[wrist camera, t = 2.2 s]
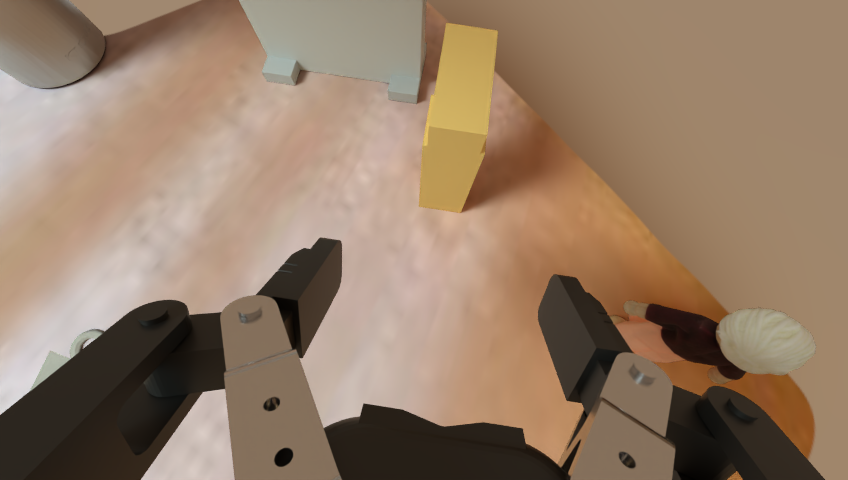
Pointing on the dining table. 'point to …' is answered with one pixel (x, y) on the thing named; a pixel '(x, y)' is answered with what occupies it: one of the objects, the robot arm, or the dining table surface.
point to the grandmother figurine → (718, 339)
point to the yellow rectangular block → (457, 117)
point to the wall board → (343, 40)
